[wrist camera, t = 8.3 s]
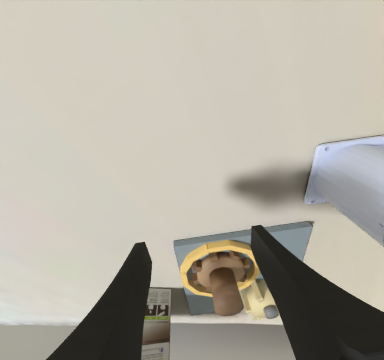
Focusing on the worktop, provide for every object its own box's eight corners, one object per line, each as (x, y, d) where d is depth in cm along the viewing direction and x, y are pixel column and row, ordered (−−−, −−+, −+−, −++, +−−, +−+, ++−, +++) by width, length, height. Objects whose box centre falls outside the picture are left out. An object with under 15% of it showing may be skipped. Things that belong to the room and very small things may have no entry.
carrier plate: (307, 221, 25) (335, 250, 21) (288, 295, 34) (304, 326, 30) (173, 240, 25) (173, 274, 21) (190, 309, 34) (192, 343, 30)
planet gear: (241, 240, 25) (257, 280, 20) (252, 275, 29) (267, 315, 24) (182, 258, 25) (184, 301, 20) (201, 289, 30) (206, 331, 25)
